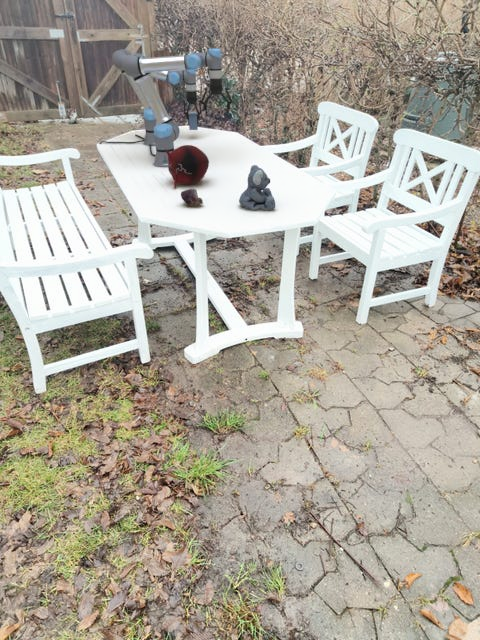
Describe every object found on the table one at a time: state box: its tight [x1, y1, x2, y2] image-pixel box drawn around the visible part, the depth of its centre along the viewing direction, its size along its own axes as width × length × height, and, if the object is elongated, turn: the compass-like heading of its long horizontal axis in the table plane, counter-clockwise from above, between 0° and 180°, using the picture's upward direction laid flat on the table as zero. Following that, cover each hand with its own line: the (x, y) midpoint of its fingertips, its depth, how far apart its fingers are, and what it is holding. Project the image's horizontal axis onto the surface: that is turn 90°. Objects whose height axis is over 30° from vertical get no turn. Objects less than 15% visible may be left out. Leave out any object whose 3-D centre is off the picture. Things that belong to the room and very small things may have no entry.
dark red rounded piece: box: [165, 144, 210, 189], centre depth 257 cm, size 21×24×25 cm
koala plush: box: [238, 164, 276, 211], centre depth 224 cm, size 17×18×20 cm
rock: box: [180, 188, 204, 207], centre depth 229 cm, size 12×9×10 cm
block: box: [188, 110, 199, 131], centre depth 344 cm, size 9×6×12 cm
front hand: (217, 115), depth 287 cm, fingers open, 13 cm apart
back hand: (193, 123), depth 345 cm, fingers closed on block, 6 cm apart
